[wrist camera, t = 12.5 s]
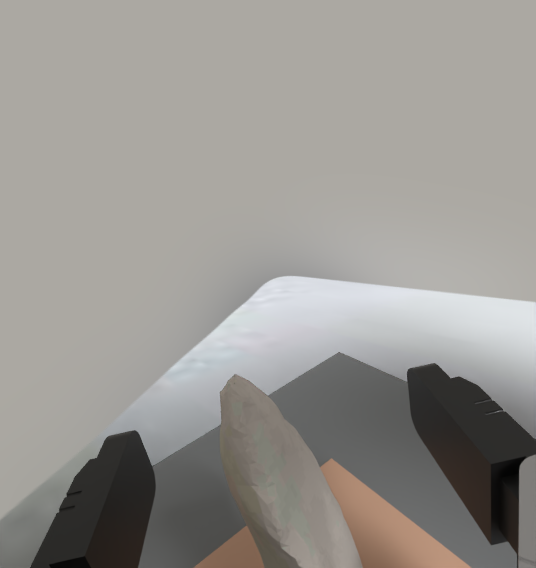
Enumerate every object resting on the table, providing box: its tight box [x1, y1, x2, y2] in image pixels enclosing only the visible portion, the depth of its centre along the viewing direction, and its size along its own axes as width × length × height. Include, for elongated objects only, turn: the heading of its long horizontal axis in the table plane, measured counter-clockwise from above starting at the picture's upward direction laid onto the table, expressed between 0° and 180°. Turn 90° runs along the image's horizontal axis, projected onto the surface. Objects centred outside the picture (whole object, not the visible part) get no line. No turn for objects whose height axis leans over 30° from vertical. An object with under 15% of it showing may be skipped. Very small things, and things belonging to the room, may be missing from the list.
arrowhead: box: [220, 375, 363, 568], centre depth 9 cm, size 8×3×10 cm, turn 15°
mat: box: [138, 352, 536, 568], centre depth 14 cm, size 21×18×1 cm
